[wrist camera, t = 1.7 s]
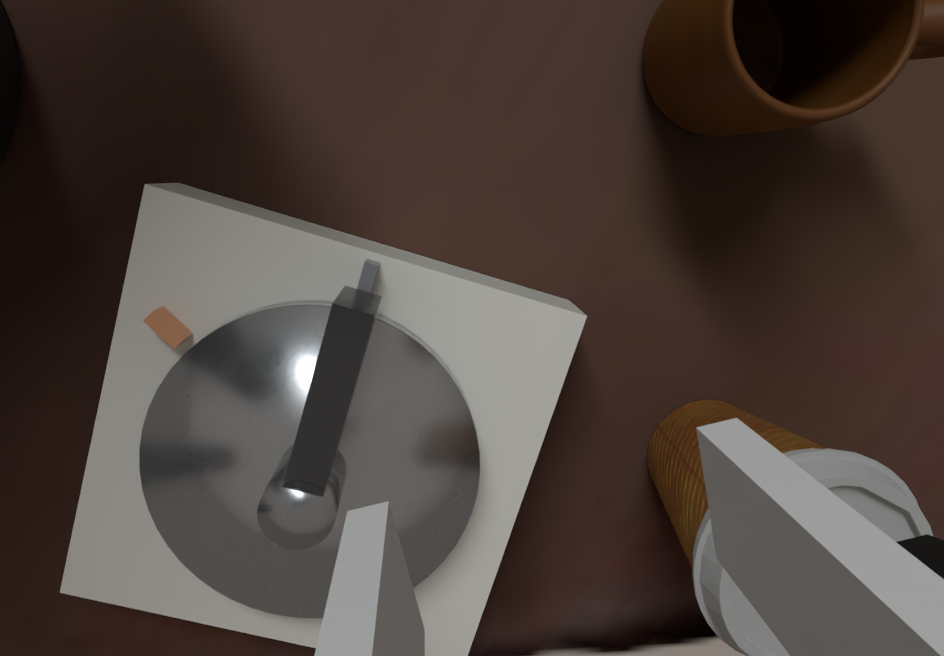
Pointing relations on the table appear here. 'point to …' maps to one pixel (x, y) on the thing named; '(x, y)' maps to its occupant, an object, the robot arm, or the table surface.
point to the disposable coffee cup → (688, 510)
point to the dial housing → (296, 279)
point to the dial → (306, 449)
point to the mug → (780, 59)
